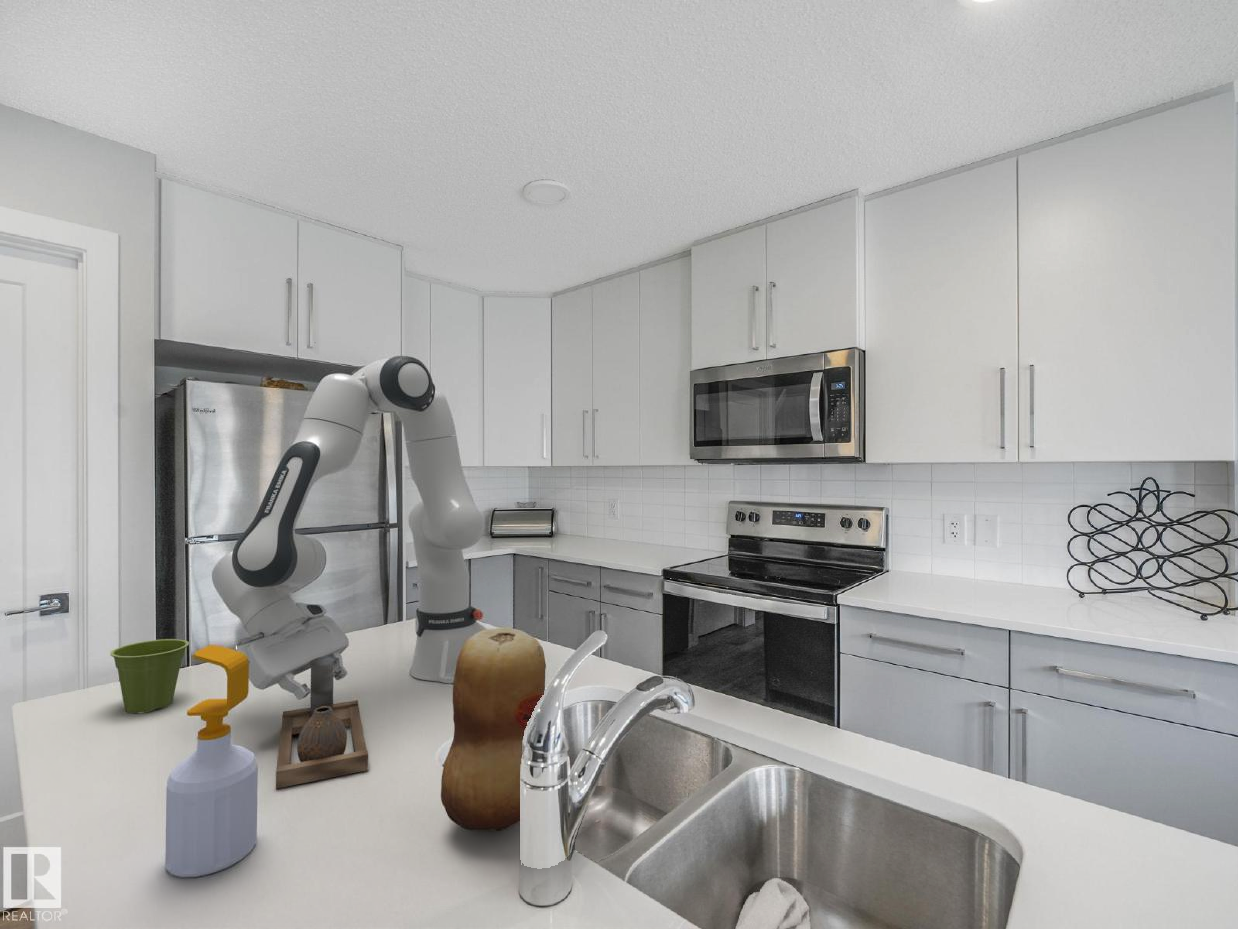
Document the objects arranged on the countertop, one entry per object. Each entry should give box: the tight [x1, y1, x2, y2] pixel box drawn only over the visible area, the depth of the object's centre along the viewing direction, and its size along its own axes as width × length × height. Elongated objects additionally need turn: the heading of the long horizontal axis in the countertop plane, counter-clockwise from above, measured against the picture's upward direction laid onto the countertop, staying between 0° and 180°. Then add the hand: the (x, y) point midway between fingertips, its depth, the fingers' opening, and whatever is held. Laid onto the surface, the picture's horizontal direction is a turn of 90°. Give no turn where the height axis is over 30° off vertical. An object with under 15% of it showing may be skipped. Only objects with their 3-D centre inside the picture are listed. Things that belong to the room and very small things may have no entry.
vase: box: [296, 706, 348, 762], centre depth 93 cm, size 7×7×9 cm
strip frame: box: [275, 657, 369, 790], centre depth 99 cm, size 12×23×12 cm, turn 27°
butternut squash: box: [440, 626, 547, 832], centre depth 79 cm, size 14×13×25 cm
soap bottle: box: [164, 644, 259, 878], centre depth 72 cm, size 9×9×25 cm
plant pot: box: [109, 638, 190, 714], centre depth 114 cm, size 12×12×11 cm
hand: (324, 686), depth 106 cm, fingers open, 8 cm apart
